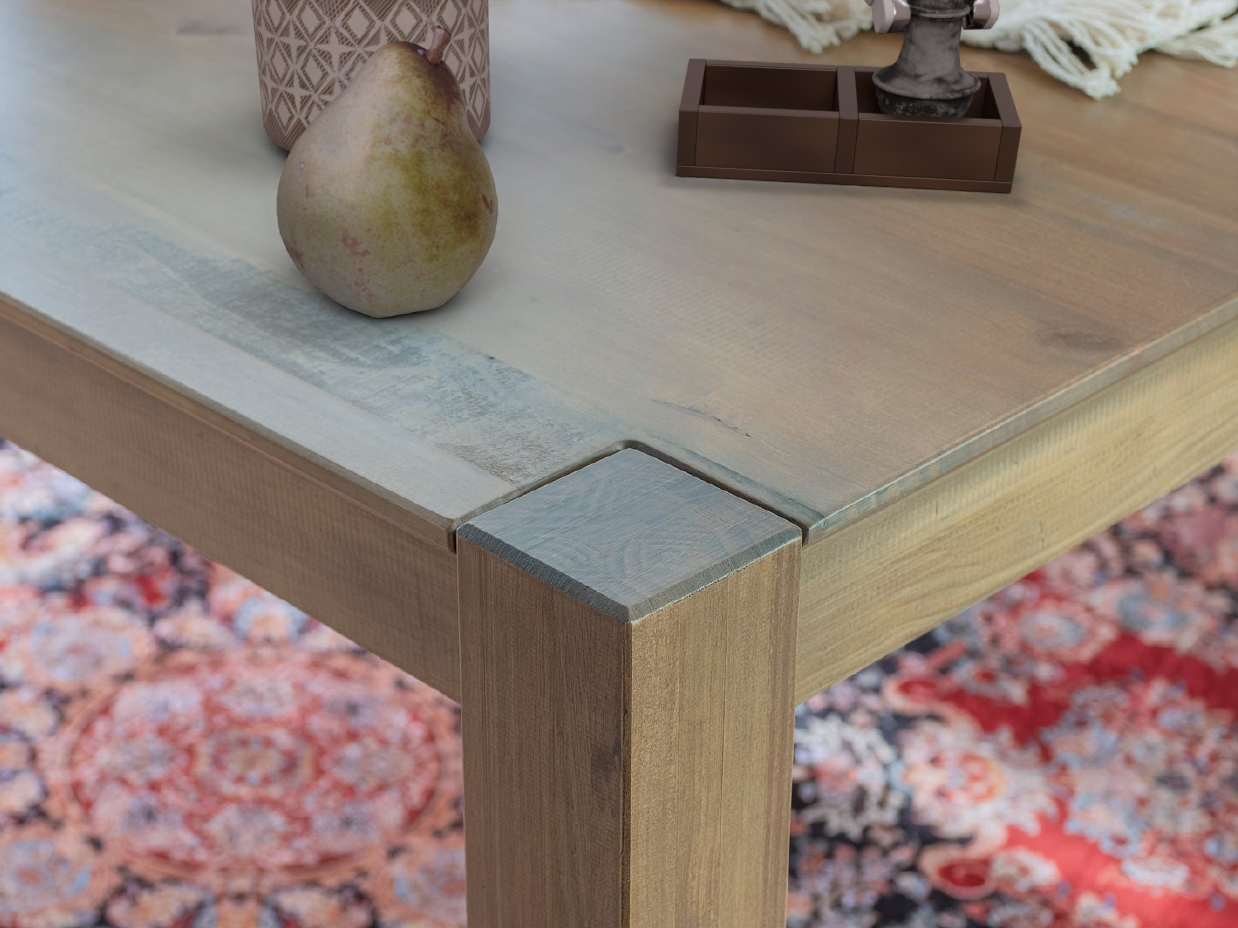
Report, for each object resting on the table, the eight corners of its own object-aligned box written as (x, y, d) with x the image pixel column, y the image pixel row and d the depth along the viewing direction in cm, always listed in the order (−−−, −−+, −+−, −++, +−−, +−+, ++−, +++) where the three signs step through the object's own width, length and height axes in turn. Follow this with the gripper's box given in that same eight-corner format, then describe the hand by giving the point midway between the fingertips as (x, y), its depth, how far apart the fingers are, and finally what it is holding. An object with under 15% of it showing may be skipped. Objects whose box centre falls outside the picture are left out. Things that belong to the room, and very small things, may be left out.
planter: (520, 168, 91) (518, -32, 85) (291, 193, 87) (272, -13, 81) (454, 99, 100) (449, -85, 94) (246, 119, 97) (226, -70, 91)
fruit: (541, 306, 76) (541, 38, 69) (378, 367, 71) (359, 83, 64) (402, 242, 82) (389, -12, 75) (242, 293, 77) (212, 26, 70)
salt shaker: (993, 149, 92) (1030, -82, 85) (915, 169, 89) (947, -68, 82) (919, 120, 96) (949, -104, 89) (843, 138, 93) (867, -91, 86)
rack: (994, 135, 96) (1004, 72, 94) (1011, 193, 89) (1022, 126, 87) (685, 120, 98) (688, 58, 96) (675, 176, 90) (678, 109, 88)
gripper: (728, -248, 86) (764, 0, 84) (1099, -251, 89) (1142, -13, 87) (703, -169, 92) (735, 63, 90) (1050, -175, 95) (1089, 49, 93)
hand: (938, 26), depth 88 cm, fingers closed on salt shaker, 3 cm apart
